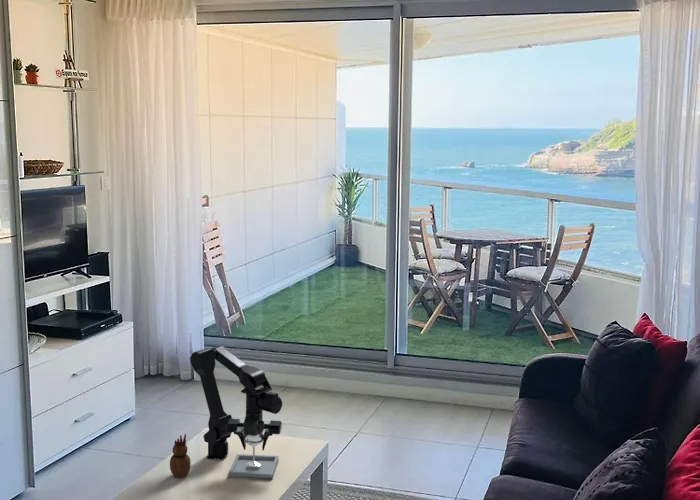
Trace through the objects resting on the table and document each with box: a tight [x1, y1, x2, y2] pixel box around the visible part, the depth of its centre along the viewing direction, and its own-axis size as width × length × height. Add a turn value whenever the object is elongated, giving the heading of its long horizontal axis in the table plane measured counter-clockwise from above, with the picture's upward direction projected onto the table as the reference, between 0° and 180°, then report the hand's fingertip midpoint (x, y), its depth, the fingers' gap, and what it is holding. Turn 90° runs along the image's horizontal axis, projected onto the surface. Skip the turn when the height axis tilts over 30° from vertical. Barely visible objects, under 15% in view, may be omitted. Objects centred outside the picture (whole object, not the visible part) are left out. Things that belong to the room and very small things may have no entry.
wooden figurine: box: [169, 433, 191, 479], centre depth 259 cm, size 7×6×15 cm
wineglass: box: [244, 430, 265, 467], centre depth 265 cm, size 7×7×12 cm
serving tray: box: [227, 453, 280, 480], centre depth 266 cm, size 15×15×2 cm
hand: (253, 449), depth 265 cm, fingers closed on wineglass, 6 cm apart
